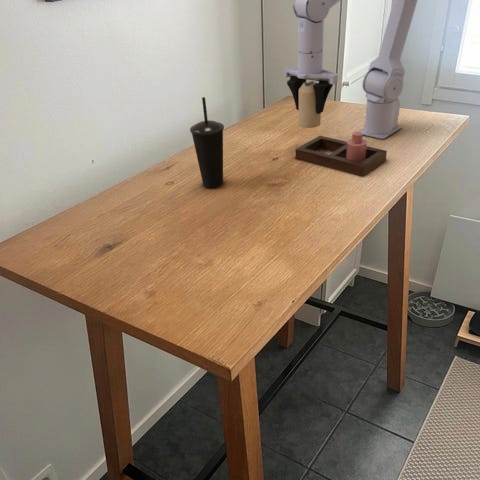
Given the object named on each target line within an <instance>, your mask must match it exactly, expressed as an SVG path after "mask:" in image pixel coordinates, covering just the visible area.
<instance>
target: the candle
mask: <svg viewBox="0 0 480 480" xmlns="http://www.w3.org/2000/svg"><path fill="white" fill-rule="evenodd" d="M317 83H318V82H316V81H314V80H310V81H309V82H307V81H306V82H304V83H303V85H302V86H301V87H300V88H299V110H298V126H299V128H303V129H313V128H318V127H319V126H320V125H321V119H322V117H321V115H322V113H320V114H316V97H315V91H314V88H313V85H315V84H317Z"/></svg>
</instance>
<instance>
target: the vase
mask: <svg viewBox="0 0 480 480" xmlns="http://www.w3.org/2000/svg"><path fill="white" fill-rule="evenodd" d="M363 136H364V135H363V133H362V132H359V131H354V132H352V136H351V138H350V139H348V140H347V141H346V142H347V148H346V159H350V160H354V161H358V162H363V161H364V160H366V151H367V146H368V141H367V140H366V139H365V138H363Z"/></svg>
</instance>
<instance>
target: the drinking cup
mask: <svg viewBox="0 0 480 480" xmlns="http://www.w3.org/2000/svg"><path fill="white" fill-rule="evenodd" d="M201 101H202V110H203V119H204V120H201V121H199V122H197V123H195V124H193V125H191V126H190V128H189V132H190V134H191V136H192V140H193V145H194V149H195V154H196V158H197V162H198V163H197V164H198V167H199V172H200V177H201V181H202V186H203V187H204V188H206V189H210V190H211V189H212V190H213V189H218V188H220V187H222V186H223V185H224V129H225V125H224V123H222V122H220V121H215V120H210V119H209V118H208V111H207V103H206V97H205V96H204V97H203V96H202V97H201ZM208 119H209V120H208Z"/></svg>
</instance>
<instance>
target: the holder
mask: <svg viewBox="0 0 480 480" xmlns="http://www.w3.org/2000/svg"><path fill="white" fill-rule="evenodd" d="M346 148H347V141H346V140H341V139H337V138H332V137H328V136H325V135H324V136H323V135H318V136H316V137H314V138H313V139H311V140H309V141H307V142H305V143H304V144H302V145H300V146H299V147H297V148H295V160H298V161H303V162H307V163H310V164H314V165H318V166H322V167H325V168H329V169H332V170H336V171H340V172H344V173H348V174H351V175H355V176H360V177H364V176H366V175H368V174H369V173H370V172H371V171H374V170H375V169H376V168H377V167H379V166H380V165H383V163H385V162H386V161H387V154H388V153H387V152H388V151H387V150H384V149H381V148H376V147H373V146H368V145H367V151H366V160H364V161H363V162H358V161H354V160H350V159H346ZM320 149H323V150H327V151H331V153H325V152H321V151H318V150H320Z"/></svg>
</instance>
